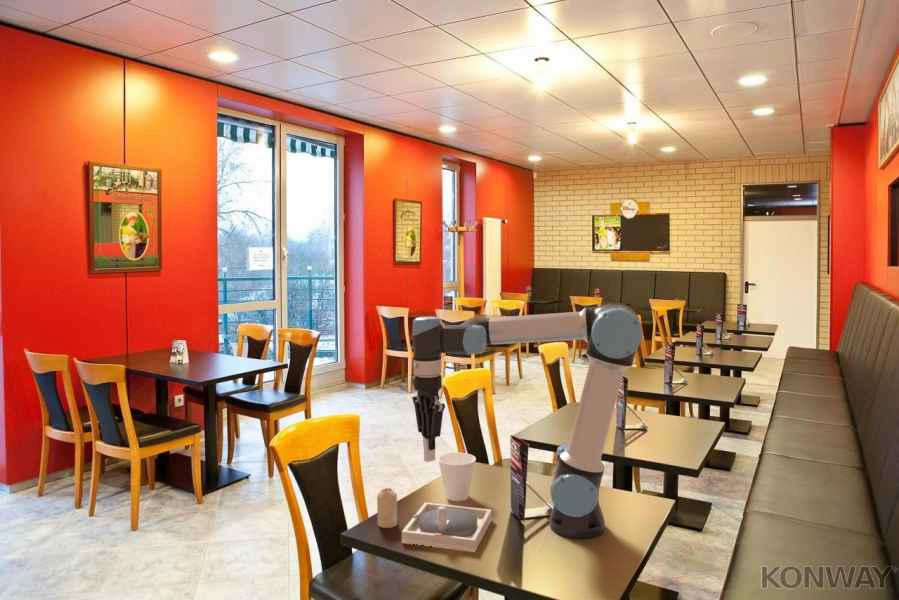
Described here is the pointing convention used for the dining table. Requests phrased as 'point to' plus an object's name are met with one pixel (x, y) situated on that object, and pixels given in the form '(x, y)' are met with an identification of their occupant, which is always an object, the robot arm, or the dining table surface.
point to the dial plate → (470, 543)
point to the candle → (387, 508)
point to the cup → (457, 474)
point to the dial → (448, 522)
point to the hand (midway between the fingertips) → (429, 460)
